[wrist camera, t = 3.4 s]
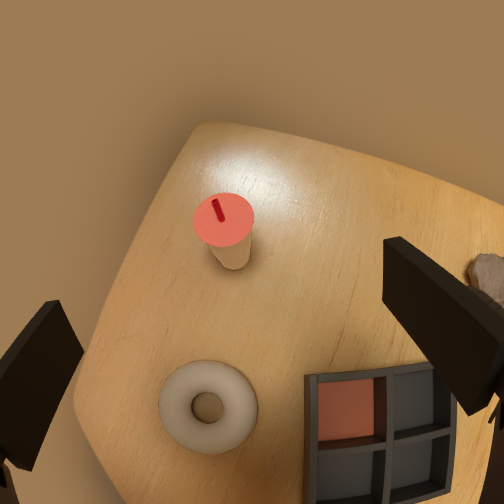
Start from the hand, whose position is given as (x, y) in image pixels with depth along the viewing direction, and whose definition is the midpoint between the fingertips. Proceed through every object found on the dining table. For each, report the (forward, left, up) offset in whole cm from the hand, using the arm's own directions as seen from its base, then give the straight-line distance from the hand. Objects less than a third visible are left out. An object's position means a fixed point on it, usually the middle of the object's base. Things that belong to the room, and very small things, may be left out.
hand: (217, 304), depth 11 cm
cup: (-2, +11, -22) cm, 25 cm away
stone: (+31, +5, -22) cm, 38 cm away
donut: (-4, -6, -22) cm, 23 cm away
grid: (+13, -10, -22) cm, 28 cm away
